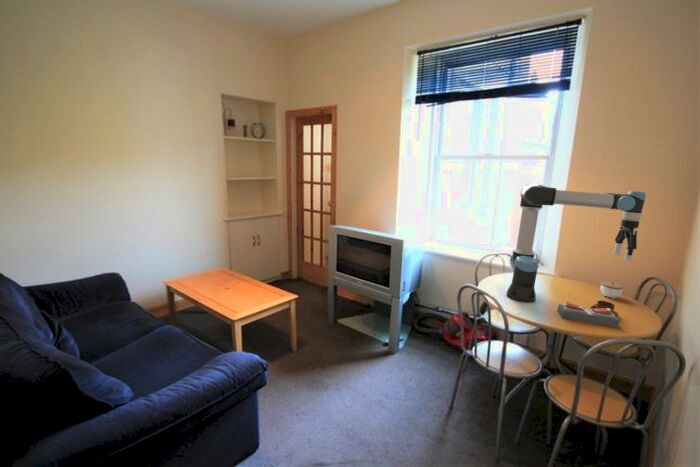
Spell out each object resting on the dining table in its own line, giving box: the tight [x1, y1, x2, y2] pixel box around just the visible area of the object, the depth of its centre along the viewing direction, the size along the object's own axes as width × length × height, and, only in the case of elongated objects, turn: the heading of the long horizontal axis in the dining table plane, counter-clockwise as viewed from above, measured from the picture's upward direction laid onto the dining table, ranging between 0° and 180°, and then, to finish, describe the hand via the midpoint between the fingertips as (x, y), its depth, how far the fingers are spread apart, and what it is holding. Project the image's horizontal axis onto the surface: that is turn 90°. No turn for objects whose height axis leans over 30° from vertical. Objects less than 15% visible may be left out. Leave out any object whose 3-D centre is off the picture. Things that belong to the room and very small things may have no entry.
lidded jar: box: [600, 281, 624, 299], centre depth 206 cm, size 11×11×9 cm
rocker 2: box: [593, 308, 612, 314], centre depth 170 cm, size 7×4×1 cm, turn 71°
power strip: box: [557, 303, 620, 329], centre depth 172 cm, size 24×9×5 cm, turn 72°
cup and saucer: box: [590, 300, 619, 318], centre depth 180 cm, size 12×12×6 cm
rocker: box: [565, 301, 584, 311], centre depth 173 cm, size 7×4×1 cm, turn 72°
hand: (621, 257), depth 189 cm, fingers open, 13 cm apart
